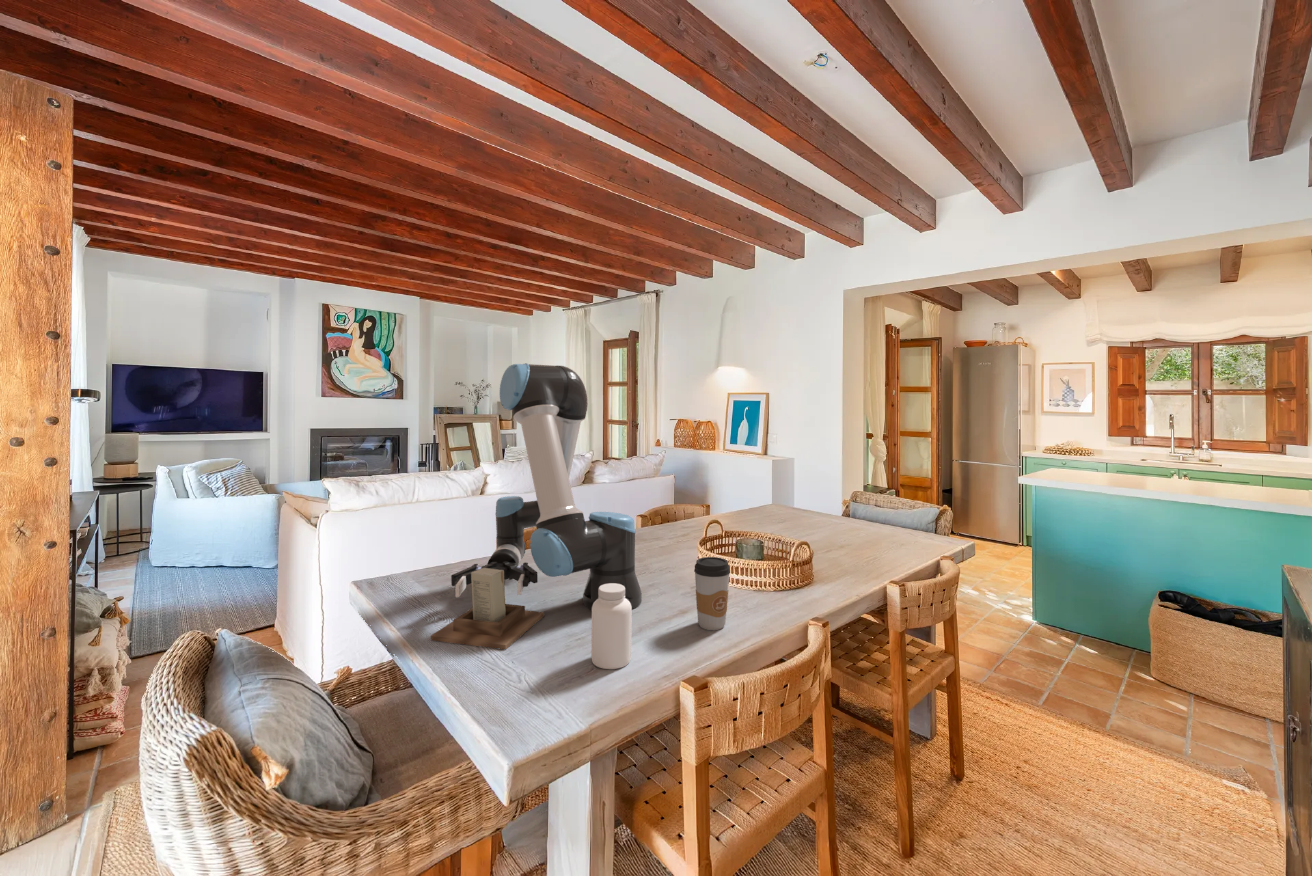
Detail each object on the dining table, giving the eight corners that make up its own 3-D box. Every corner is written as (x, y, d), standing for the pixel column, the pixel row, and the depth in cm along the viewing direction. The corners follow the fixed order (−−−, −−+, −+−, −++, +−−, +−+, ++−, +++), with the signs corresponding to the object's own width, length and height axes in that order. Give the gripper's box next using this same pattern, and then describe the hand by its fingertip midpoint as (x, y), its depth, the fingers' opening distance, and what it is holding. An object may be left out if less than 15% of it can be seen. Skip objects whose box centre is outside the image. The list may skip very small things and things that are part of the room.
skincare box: (506, 622, 122) (505, 570, 121) (493, 629, 118) (492, 575, 117) (485, 617, 125) (484, 566, 124) (471, 624, 121) (470, 571, 120)
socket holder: (544, 616, 128) (543, 602, 128) (505, 649, 111) (505, 633, 111) (477, 609, 133) (477, 595, 132) (430, 640, 115) (430, 624, 115)
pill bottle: (626, 672, 101) (625, 595, 100) (586, 668, 103) (585, 592, 102) (635, 653, 109) (635, 582, 108) (598, 649, 111) (598, 579, 110)
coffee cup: (706, 635, 118) (706, 569, 117) (687, 621, 125) (687, 559, 124) (737, 628, 122) (737, 563, 121) (716, 615, 129) (717, 554, 128)
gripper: (552, 574, 143) (544, 604, 122) (456, 577, 140) (431, 608, 119) (551, 547, 142) (543, 572, 121) (455, 549, 140) (430, 575, 119)
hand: (488, 590), depth 120 cm, fingers open, 13 cm apart
